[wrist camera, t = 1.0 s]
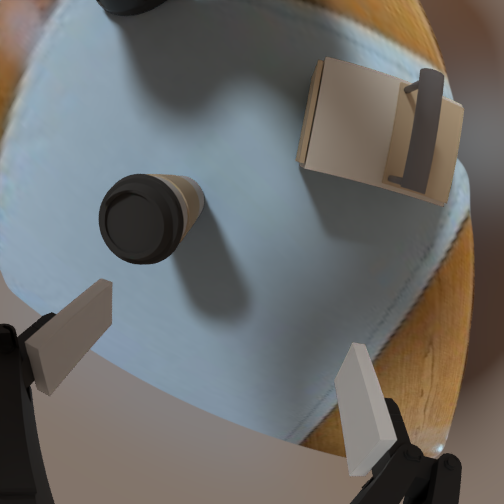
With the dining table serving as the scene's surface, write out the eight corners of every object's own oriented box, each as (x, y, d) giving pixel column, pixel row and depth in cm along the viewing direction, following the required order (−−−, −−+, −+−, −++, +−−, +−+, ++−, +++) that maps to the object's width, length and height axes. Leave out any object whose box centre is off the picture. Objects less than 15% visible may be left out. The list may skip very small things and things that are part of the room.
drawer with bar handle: (396, 81, 25) (426, 64, 18) (461, 109, 25) (501, 102, 18) (378, 181, 29) (405, 190, 22) (444, 202, 29) (482, 217, 22)
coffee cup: (223, 217, 41) (192, 251, 27) (167, 243, 43) (116, 286, 29) (194, 155, 39) (147, 157, 24) (138, 185, 41) (75, 204, 26)
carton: (311, 75, 34) (319, 53, 26) (428, 111, 34) (462, 104, 25) (294, 164, 38) (298, 167, 29) (412, 195, 37) (443, 207, 29)
